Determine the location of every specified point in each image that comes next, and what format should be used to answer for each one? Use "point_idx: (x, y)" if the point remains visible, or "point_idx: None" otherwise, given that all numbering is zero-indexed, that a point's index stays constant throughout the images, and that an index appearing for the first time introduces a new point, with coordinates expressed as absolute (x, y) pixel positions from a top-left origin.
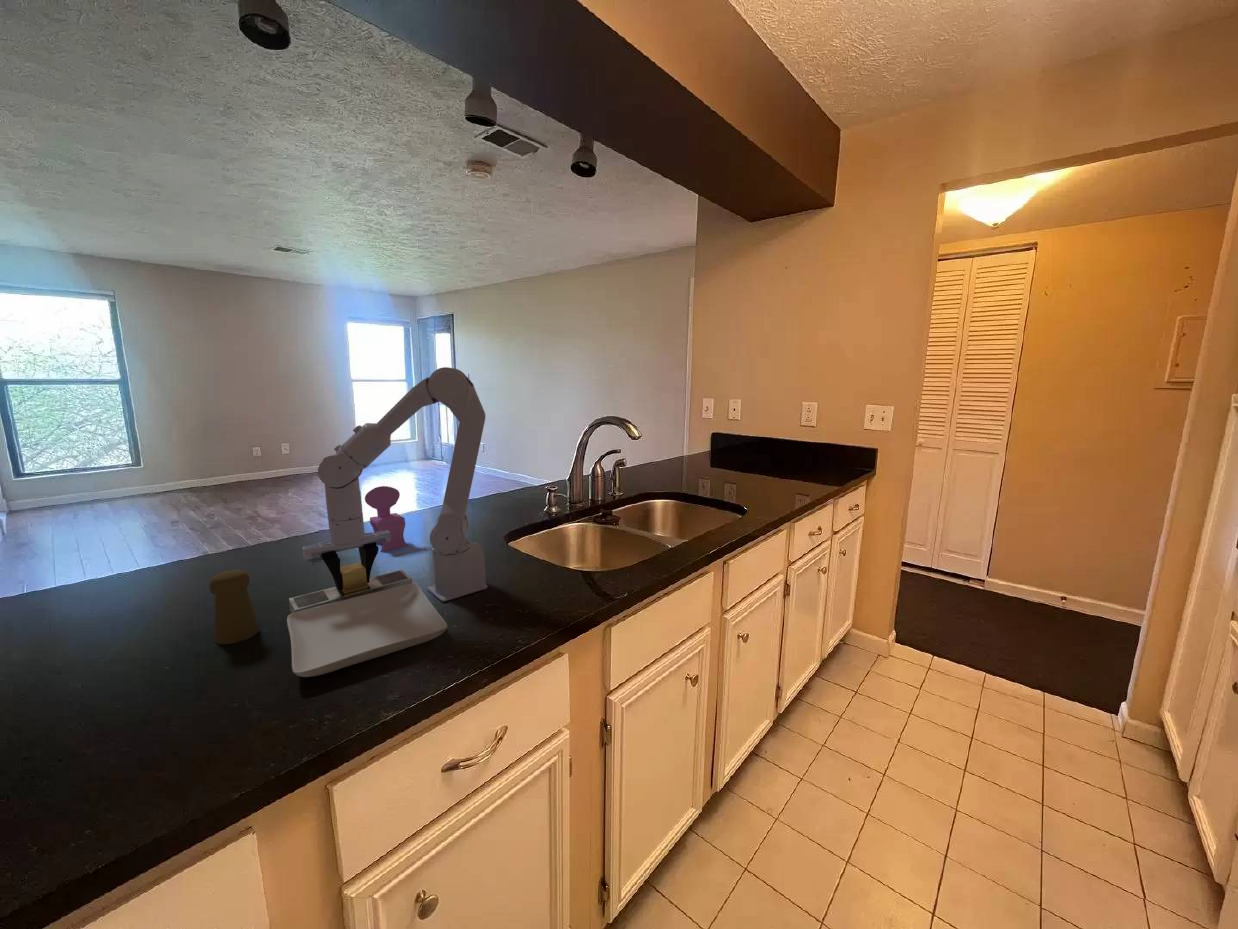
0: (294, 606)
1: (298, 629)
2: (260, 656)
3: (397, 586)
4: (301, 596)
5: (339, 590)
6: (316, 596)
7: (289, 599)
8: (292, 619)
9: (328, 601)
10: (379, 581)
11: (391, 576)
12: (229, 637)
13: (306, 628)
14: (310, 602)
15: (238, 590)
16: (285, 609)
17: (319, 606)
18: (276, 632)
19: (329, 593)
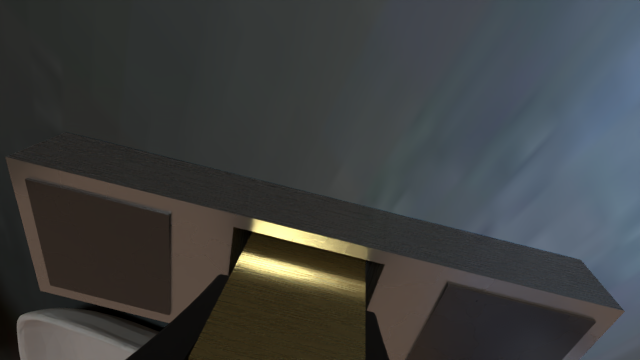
0: (37, 262)
1: (68, 358)
2: (3, 335)
3: None
4: (63, 194)
5: (251, 237)
6: (128, 253)
7: (10, 172)
8: (42, 324)
9: (166, 321)
10: (417, 342)
11: (500, 342)
12: None
13: (98, 343)
14: (97, 286)
15: None
16: (46, 94)
17: (121, 349)
18: (28, 259)
19: (187, 266)
